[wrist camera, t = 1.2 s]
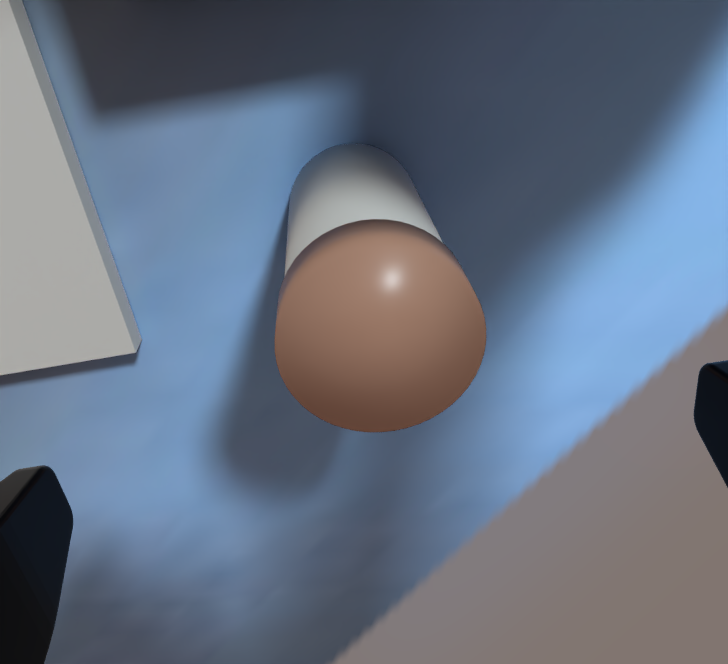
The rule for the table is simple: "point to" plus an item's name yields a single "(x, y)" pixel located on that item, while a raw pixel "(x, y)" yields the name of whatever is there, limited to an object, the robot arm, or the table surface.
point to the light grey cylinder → (372, 298)
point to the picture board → (49, 226)
